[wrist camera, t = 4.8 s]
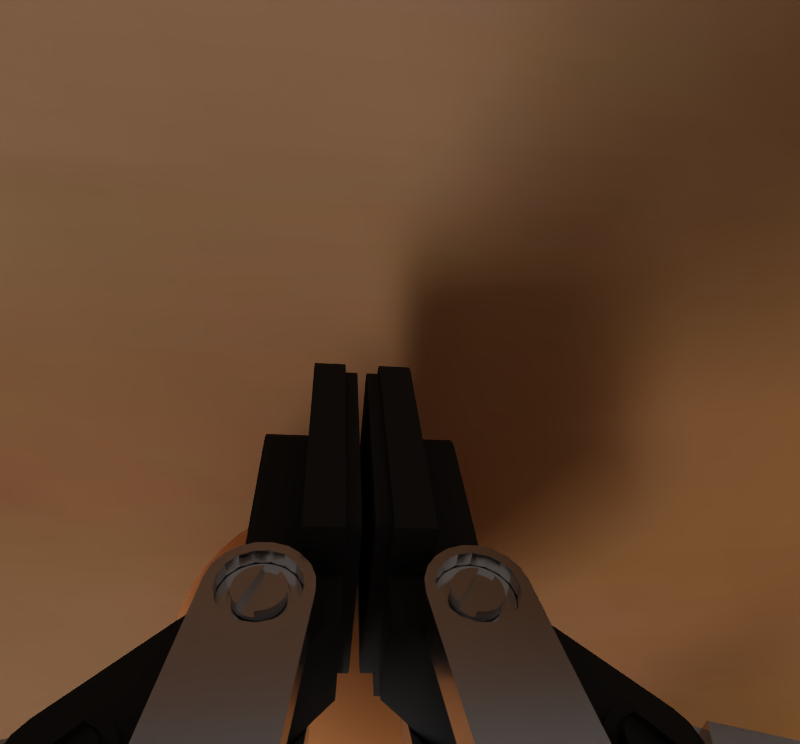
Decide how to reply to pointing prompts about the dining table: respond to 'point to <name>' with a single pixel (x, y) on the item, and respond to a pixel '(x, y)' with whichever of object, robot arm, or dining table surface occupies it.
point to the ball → (340, 693)
